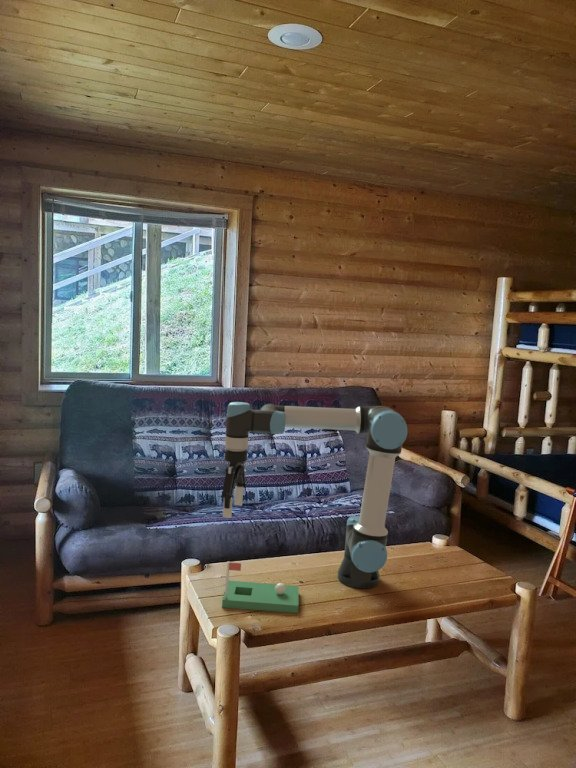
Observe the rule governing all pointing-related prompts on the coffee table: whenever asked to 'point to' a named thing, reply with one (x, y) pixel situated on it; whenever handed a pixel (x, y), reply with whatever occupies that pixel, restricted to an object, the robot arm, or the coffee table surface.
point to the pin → (229, 567)
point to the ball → (280, 588)
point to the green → (261, 597)
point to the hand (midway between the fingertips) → (232, 511)
